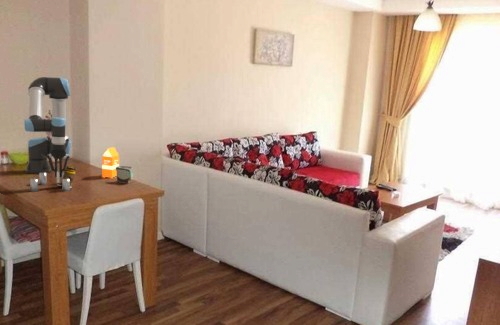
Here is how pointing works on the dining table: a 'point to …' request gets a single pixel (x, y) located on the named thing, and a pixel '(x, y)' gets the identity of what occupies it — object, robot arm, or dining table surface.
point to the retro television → (123, 174)
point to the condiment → (68, 175)
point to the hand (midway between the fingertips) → (58, 182)
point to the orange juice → (110, 163)
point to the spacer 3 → (65, 184)
